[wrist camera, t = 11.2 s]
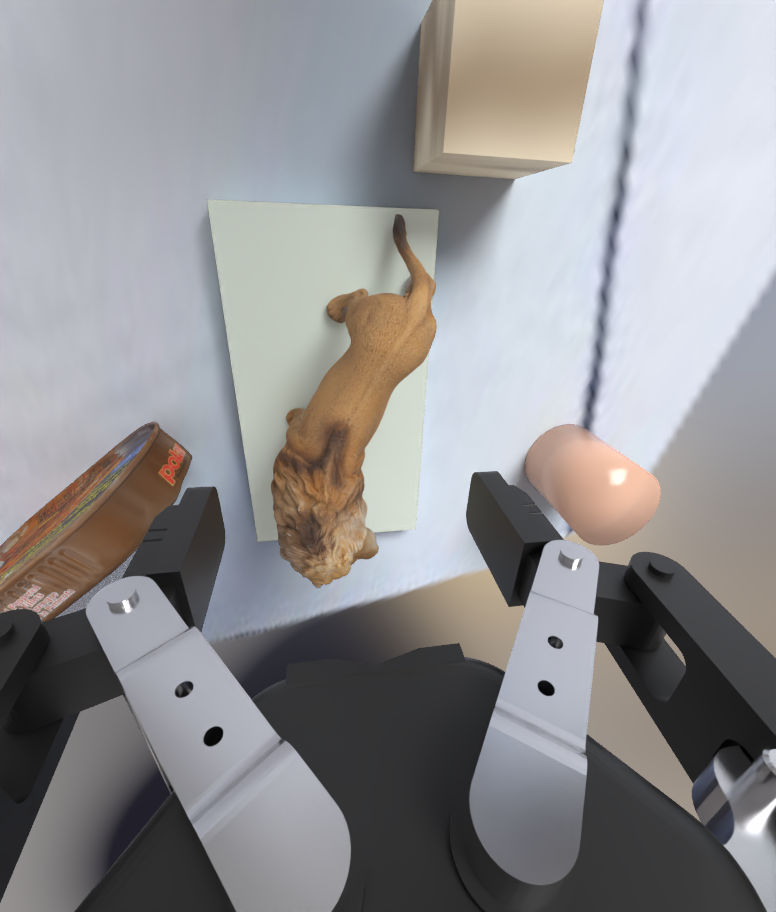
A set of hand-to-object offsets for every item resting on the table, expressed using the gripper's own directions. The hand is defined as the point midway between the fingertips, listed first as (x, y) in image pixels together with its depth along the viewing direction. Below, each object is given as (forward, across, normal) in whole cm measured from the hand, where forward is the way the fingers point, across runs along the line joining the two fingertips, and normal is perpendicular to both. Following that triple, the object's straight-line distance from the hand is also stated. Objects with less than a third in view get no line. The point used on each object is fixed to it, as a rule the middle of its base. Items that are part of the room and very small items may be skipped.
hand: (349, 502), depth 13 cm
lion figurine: (+10, -1, -1) cm, 10 cm away
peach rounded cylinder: (+11, -15, +6) cm, 20 cm away
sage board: (+11, 0, 0) cm, 11 cm away
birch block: (+12, -6, -12) cm, 18 cm away
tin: (+12, +14, +6) cm, 19 cm away
